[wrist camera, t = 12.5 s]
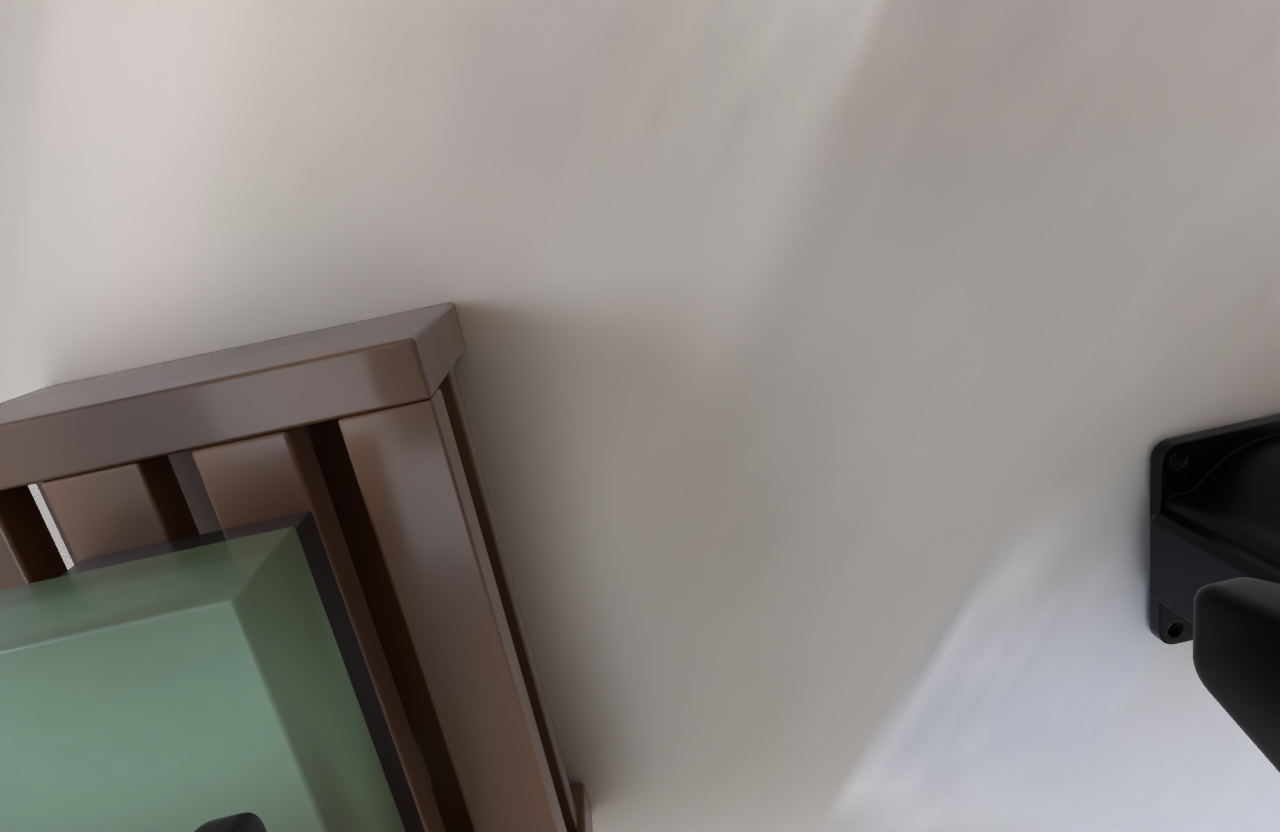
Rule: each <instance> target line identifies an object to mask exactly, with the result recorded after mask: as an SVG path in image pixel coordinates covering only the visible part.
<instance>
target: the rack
mask: <svg viewBox="0 0 1280 832" xmlns="http://www.w3.org/2000/svg"><path fill="white" fill-rule="evenodd" d="M464 349H465V342H464V339H463V335H462V331H461V327H460V324H459V320H458V316H457V313H456V309H455V305H454V304H453V303H451V302H449V303H445V304H440V305H435V306H430V307H426V308H421V309H416V310H411V311H407V312H402V313H397V314H392V315H387V316H383V317H378V318H373V319H368V320H364V321H359V322H354V323H349V324H345V325H340V326H335V327H330V328H326V329H321V330H316V331H311V332H306V333H302V334H297V335H292V336H287V337H283V338H278V339H273V340H268V341H264V342H259V343H254V344H249V345H244V346H240V347H235V348H230V349H225V350H221V351H216V352H211V353H206V354H202V355H197V356H192V357H187V358H183V359H178V360H173V361H168V362H163V363H159V364H154V365H149V366H144V367H140V368H135V369H130V370H125V371H121V372H116V373H111V374H106V375H101V376H97V377H92V378H87V379H82V380H78V381H73V382H68V383H63V384H59V385H54V386H49V387H45V388H42V389H39V390H36V391H34V392H31V393H28V394H25V395H22V396H20V397H17V398H14V399H11V400H8V401H6V402H3V403H0V590H2V589H7V588H11V587H16V586H20V585H25V584H30V583H34V582H39V581H44V580H48V579H53V578H57V577H60V576H61V575H62V574H64V573H65V572H66V571H68V570H67V568H66V566H65V564H64V562H63V560H62V557H61V555H60V553H59V551H58V549H57V547H56V545H55V543H54V541H53V538H52V536H51V534H50V532H49V530H48V528H47V526H46V524H45V522H44V519H43V517H42V515H41V513H40V511H39V509H38V507H37V505H36V503H35V500H34V498H33V496H32V494H31V492H30V490H29V488H28V486H27V485H31V484H35V483H36V484H37V486H38V488H39V490H40V492H41V494H42V496H43V498H44V501H45V503H46V505H47V507H48V509H49V511H50V513H51V516H52V518H53V520H54V522H55V524H56V526H57V528H58V530H59V533H60V535H61V537H62V539H63V541H64V543H65V545H66V548H67V550H68V552H69V554H70V556H71V558H72V560H73V562H74V565H76V564H77V563H79V562H80V561H81V560H85V559H90V558H94V557H99V556H104V555H108V554H113V553H118V552H122V551H127V550H131V549H136V548H141V547H145V546H150V545H155V544H159V543H164V542H168V541H173V540H178V539H182V538H187V537H192V536H196V535H201V534H205V533H210V532H215V531H219V530H224V529H229V528H233V527H238V526H242V525H247V524H252V523H256V522H261V521H266V520H270V519H275V518H279V517H284V516H289V515H293V514H298V513H302V512H307V511H311V512H312V514H313V516H314V519H315V522H316V525H317V528H318V530H319V533H320V536H321V539H322V542H323V545H324V547H325V550H326V553H327V556H328V559H329V562H330V564H331V567H332V570H333V573H334V576H335V578H336V581H337V584H338V587H339V590H340V593H341V595H342V598H343V601H344V604H345V607H346V610H347V612H348V615H349V618H350V621H351V624H352V627H353V629H354V632H355V635H356V638H357V641H358V643H359V646H360V649H361V652H362V655H363V658H364V660H365V663H366V666H367V669H368V672H369V675H370V677H371V680H372V683H373V686H374V689H375V691H376V694H377V697H378V700H379V703H380V706H381V708H382V711H383V714H384V717H385V720H386V723H387V725H388V728H389V731H390V734H391V737H392V739H393V742H394V745H395V748H396V751H397V754H398V756H399V759H400V762H401V765H402V768H403V771H404V773H405V776H406V779H407V782H408V785H409V788H410V790H411V793H412V796H413V799H414V802H415V804H416V807H417V810H418V813H419V816H420V819H421V821H422V824H423V827H424V830H425V832H593V828H592V812H591V808H590V804H589V801H588V797H587V793H586V790H585V787H584V785H582V784H581V785H576V786H572V787H570V786H569V782H568V779H567V775H566V772H565V768H564V764H563V761H562V757H561V754H560V750H559V746H558V743H557V739H556V736H555V732H554V728H553V725H552V721H551V718H550V714H549V710H548V707H547V703H546V700H545V696H544V692H543V689H542V685H541V682H540V678H539V674H538V671H537V667H536V664H535V660H534V656H533V653H532V649H531V646H530V642H529V638H528V635H527V631H526V628H525V624H524V620H523V617H522V613H521V610H520V606H519V602H518V599H517V595H516V592H515V588H514V584H513V581H512V577H511V574H510V570H509V566H508V563H507V559H506V556H505V552H504V548H503V545H502V541H501V538H500V534H499V530H498V527H497V523H496V520H495V516H494V512H493V509H492V505H491V502H490V498H489V494H488V491H487V487H486V484H485V480H484V476H483V473H482V469H481V466H480V462H479V458H478V455H477V451H476V448H475V444H474V441H473V437H472V433H471V430H470V426H469V423H468V419H467V415H466V412H465V408H464V405H463V401H462V397H461V394H460V390H459V387H458V383H457V379H456V376H455V372H454V369H453V365H454V364H455V362H456V361H457V359H458V358H459V356H460V355H461V353H462V352H463V351H464Z"/></svg>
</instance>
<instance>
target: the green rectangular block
mask: <svg viewBox="0 0 1280 832" xmlns="http://www.w3.org/2000/svg"><path fill="white" fill-rule="evenodd" d="M244 812H250V813H254V814H256V815H257V816H258V817H259V818H260V819H261V821H262V822H263V824H264V826H265V828H266V831H267V832H425V830H424V827H423V824H422V821H421V819H420V816H419V813H418V810H417V807H416V804H415V802H414V799H413V796H412V793H411V790H410V788H409V785H408V782H407V779H406V776H405V773H404V771H403V768H402V765H401V762H400V759H399V756H398V754H397V751H396V748H395V745H394V742H393V739H392V737H391V734H390V731H389V728H388V725H387V723H386V720H385V717H384V714H383V711H382V708H381V706H380V703H379V700H378V697H377V694H376V691H375V689H374V686H373V683H372V680H371V677H370V675H369V672H368V669H367V666H366V663H365V660H364V658H363V655H362V652H361V649H360V646H359V643H358V641H357V638H356V635H355V632H354V629H353V627H352V624H351V621H350V618H349V615H348V612H347V610H346V607H345V604H344V601H343V598H342V595H341V593H340V590H339V587H338V584H337V581H336V578H335V576H334V573H333V570H332V567H331V564H330V562H329V559H328V556H327V553H326V550H325V547H324V545H323V542H322V539H321V536H320V533H319V530H318V528H317V525H316V522H315V519H314V516H313V514H312V512H311V511H307V512H302V513H298V514H293V515H289V516H284V517H279V518H275V519H270V520H266V521H261V522H256V523H252V524H247V525H242V526H238V527H233V528H229V529H224V530H219V531H215V532H210V533H205V534H201V535H196V536H192V537H187V538H182V539H178V540H173V541H168V542H164V543H159V544H155V545H150V546H145V547H141V548H136V549H131V550H127V551H122V552H118V553H113V554H108V555H104V556H99V557H94V558H90V559H85V560H81V561H80V562H79V563H77V564H76V565H75V566H73V567H72V568H70V569H69V570H68V571H66V572H65V573H64V574H62V575H61V576H60V577H57V578H53V579H48V580H44V581H39V582H34V583H30V584H25V585H20V586H16V587H11V588H7V589H2V590H0V832H194V831H195V830H196V829H198V828H199V827H200V826H201V825H203V824H204V823H206V822H208V821H211V820H214V819H218V818H222V817H227V816H231V815H235V814H239V813H244Z"/></svg>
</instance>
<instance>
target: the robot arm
mask: <svg viewBox="0 0 1280 832" xmlns="http://www.w3.org/2000/svg"><path fill="white" fill-rule="evenodd" d="M1174 453H1176V455H1175V458H1174V459H1173V461H1172V462H1170V458H1171V457H1172V455H1173V454H1174ZM1169 462H1170V463H1169ZM1171 624H1172V625H1171ZM1170 625H1171V626H1170ZM1169 626H1170V628H1168V627H1169ZM1150 630H1151V632H1152V633H1153V634H1154V635H1155V636H1156V637H1158V638H1159V639H1160V640H1162V641H1163V642H1164V643H1167V644H1177V643H1181V642H1186V641H1190V640H1193V661H1194V665H1195V669H1196V671H1197V674H1198V676H1199V678H1200V680H1201V681H1202V683H1203V684H1204V686H1205V687H1206V688H1207V690H1208V691H1209V692H1210V693H1211V694H1212V695H1213V697H1214V698H1215V699H1216V700H1217V701H1218V702H1219V703H1220V705H1221V706H1222V707H1223V708H1224V709H1225V710H1226V712H1227V713H1228V714H1229V715H1230V716H1231V717H1232V718H1233V720H1234V721H1235V722H1236V723H1237V724H1238V725H1239V726H1240V728H1241V729H1242V730H1243V731H1244V732H1245V733H1246V734H1247V736H1248V737H1249V738H1250V739H1251V740H1252V741H1253V742H1254V744H1255V745H1256V746H1257V747H1258V748H1259V749H1260V750H1261V752H1262V753H1263V754H1264V755H1265V756H1266V757H1267V758H1268V760H1269V761H1270V762H1271V763H1272V764H1273V765H1274V766H1275V768H1276V769H1277V770H1278V771H1279V772H1280V414H1277V415H1273V416H1268V417H1264V418H1259V419H1255V420H1250V421H1246V422H1241V423H1237V424H1232V425H1228V426H1223V427H1219V428H1214V429H1210V430H1205V431H1201V432H1196V433H1192V434H1187V435H1183V436H1179V437H1174V438H1170V439H1166V440H1164V441H1161V442H1160V443H1159V444H1158V445H1157V446H1155V448H1154V450H1153V451H1152V453H1151V458H1150ZM194 832H267V831H266V828H265V826H264V824H263V822H262V821H261V819H260V818H259V817H258V816H257V815H256V814H254V813H250V812H244V813H239V814H235V815H231V816H227V817H222V818H218V819H214V820H211V821H208V822H206V823H204V824H203V825H201V826H200V827H199V828H198V829H196V830H195V831H194Z"/></svg>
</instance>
